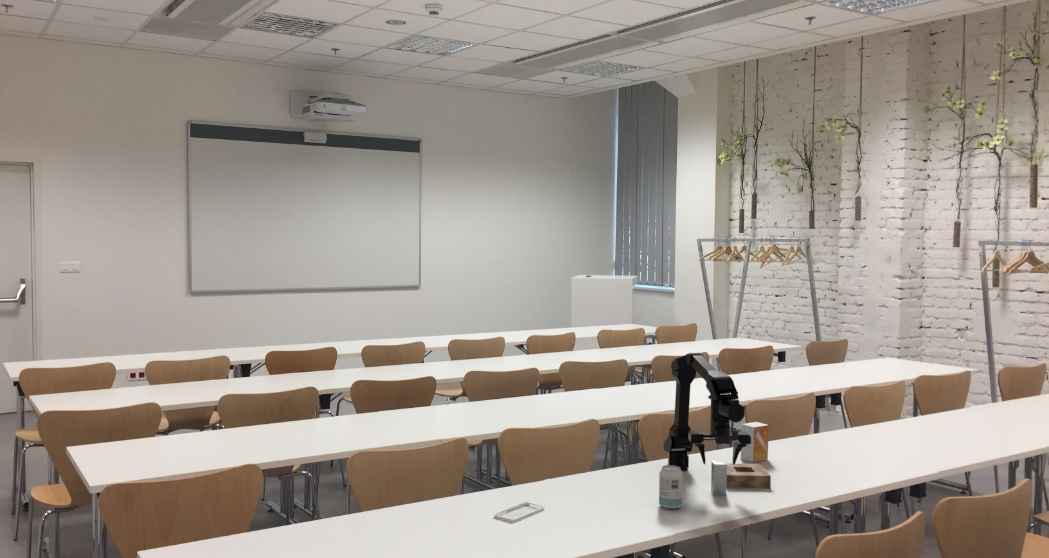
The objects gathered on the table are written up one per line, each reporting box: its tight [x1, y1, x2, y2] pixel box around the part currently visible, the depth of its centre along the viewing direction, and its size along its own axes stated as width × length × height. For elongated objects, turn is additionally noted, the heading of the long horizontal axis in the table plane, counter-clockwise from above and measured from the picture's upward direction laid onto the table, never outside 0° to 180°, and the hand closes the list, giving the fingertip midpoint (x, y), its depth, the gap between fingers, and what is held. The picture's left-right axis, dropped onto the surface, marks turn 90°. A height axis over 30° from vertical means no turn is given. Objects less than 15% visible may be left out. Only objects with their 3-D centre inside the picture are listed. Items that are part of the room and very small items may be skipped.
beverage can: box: [658, 465, 684, 511], centre depth 243 cm, size 7×7×12 cm
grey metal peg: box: [710, 460, 728, 497], centre depth 256 cm, size 4×4×10 cm
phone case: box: [493, 501, 545, 523], centre depth 238 cm, size 7×1×15 cm
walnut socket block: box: [726, 463, 772, 489], centre depth 270 cm, size 14×14×4 cm
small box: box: [739, 421, 770, 463], centre depth 297 cm, size 8×6×13 cm
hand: (718, 464), depth 256 cm, fingers open, 9 cm apart
